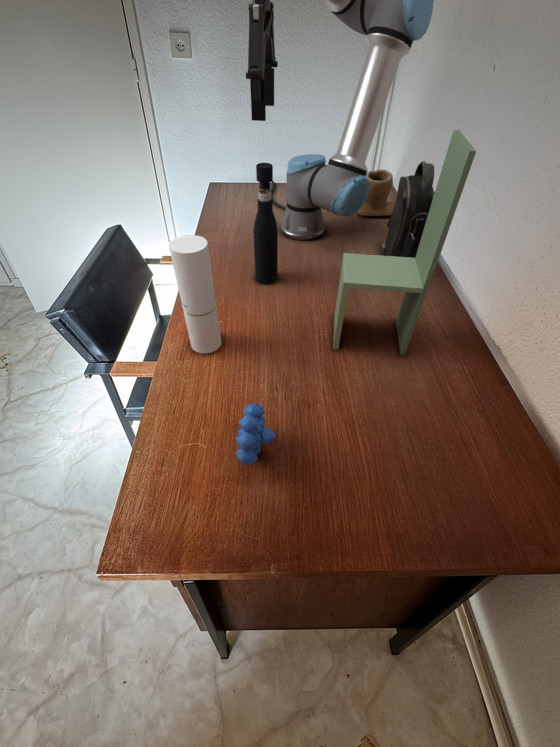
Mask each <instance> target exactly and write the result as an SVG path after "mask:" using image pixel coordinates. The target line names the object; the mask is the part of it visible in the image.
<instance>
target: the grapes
mask: <svg viewBox="0 0 560 747" xmlns="http://www.w3.org/2000/svg"><path fill="white" fill-rule="evenodd" d="M242 411H243V413H244V416H242V417H241V418H240V419H239V420H238V424H239V426H240V428H239V429H238V430H237V433H238V435H237V436H236V437H235V439H234V440H235V442H236V444H237V445H238V446H239V448H238V449H237V450H236V452H235V455H236V457H237V459H238V460H239V462H241V463H242V464H243V465H245V466H247V467H248V466H251V465H252V464H253V463H255V462H256V461H258V459H259V457H258V456H257V455H258V454H259V453H260V452H261V451H262V449H261V448H262V445H263V444H264V445H267V444H270V443H272V442H273V441H274V440H275V439H277V435H276V434H275V432H274V430H273V429H272V428H271V427H268V426H267V427H265V426H266V422H267V420H266V419H265V417H264V416H263V415H265V413H266V411H265V408H264V407H263V406H262V405H261V403H259V402H255V403H253V402H252V403H249V404H248V405H246V407H244V408H243V409H242Z"/></svg>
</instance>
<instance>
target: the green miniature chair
mask: <svg viewBox="0 0 560 747" xmlns="http://www.w3.org/2000/svg"><path fill="white" fill-rule="evenodd" d="M476 154H477V150H476V149H475V147H473V145H472V144H471V143H470V141H469V140H468V139H467V138H466V136H465V135H464V134H463V133H462V132H461V130H460V129H453V131H452V133H451V137H450V141H449V143H448V147H447V150H446V153H445V157H444V161H443V164H442V167H441V170H440V174H439V177H438V180H437V183H436V187H435V190H434V192H435V194H434V197H433V200H432V204H431V207H430V210H429V214H428V217H427V220H426V224H425V227H424V230H423V234H422V237H421V240H420V244H419V247H418V250H417V254H416V257H415V258H410V257H395V256H383V255H379V254H366V253H365V254H364V253H352V252H351V253H350V252H343V254H342V261H341V269H340V275H339V276H340V277H339V282H338V289H337V296H336V301H335V302H336V303H335V310H334V317H333V341H332V342H333V345H332V348H333V350H339V347H340V342H341V336H342V330H343V324H344V317H345V312H346V305H347V299H348V293H349V289H359V290H373V291H384V292H385V291H386V292H399V293H404V294H403V297H402V301H401V304H400V308H399V311H398V314H397V317H396V320H395V326H396V333H397V340H398V347H399V352H400V355H401V356H406V354H407V351H408V348H409V345H410V342H411V339H412V337H413V333H414V331H415V328H416V325H417V322H418V319H419V317H420V313H421V310H422V308H423V305H424V302H425V300H426V296H427V293H428V291H429V288H430V285H431V282H432V279H433V277H434V274H435V271H436V268H437V265H438V263H439V259H440V256H441V254H442V251H443V248H444V245H445V242H446V239H447V237H448V234H449V231H450V229H451V228H450V227H451V225H452V222H453V219H454V216H455V213H456V211H457V208H458V205H459V202H460V199H461V197H462V193H463V191H464V188H465V185H466V182H467V180H468V176H469V173H470V170H471V168H472V165H473V163H474V160H475V157H476Z"/></svg>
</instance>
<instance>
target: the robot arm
mask: <svg viewBox="0 0 560 747" xmlns="http://www.w3.org/2000/svg"><path fill="white" fill-rule="evenodd" d="M434 2H435V0H324V3H325V6H326V8H327V10H329V11H330V12H331V13H332V14H333V16H335V18H337V19H338V20H339V21H340V22H342V23H343V24H344V25H345V26H346V27H348V28H349V29H351V30H353V31H354V32H356V33H358V34H360V35H363V36H365V41H366V45H367V49H368V50H367V53H366V56H365V60H364V62H363V66H362V70H361V72H360V77H359V79H358V82H357V86H356V89H355V92H354V95H353V98H352V101H351V105H350V108H349V112H348V115H347V118H346V121H345V125H344V128H343V132H342V133H341V134H342V135H341V138H340V141H339V144H338V147H337V152H336V153H335V154H333V155H332V156H330V157H329V159H328V162H327V160H326V159H327V158H326V156H325V155H323V154H318V153H310V154H301V155H296V156H293V157H291V158H289V160H288V161H287V169H286V206H284V205H282V204H280V203H278V202H276V201H275V200H274V199H273V198H272V200H273V205H275V206H276V207H278V208H280V209H282V210H283V211H284V213H283V216H282V219H281V221H280V232H281V234H282V235H283V236H285V237H286V238H289V239H291V240H295V241H312V240H315V239H316V240H317V239H319V238H320V237H322V236H323V235H324V234H325V229H326V225H325V220H324V215H323V211H322V210H326V211H327V212H330V213H332V214H334V215H337V216H341V217H345V218H346V217H351V216H353V215H354V214H357V213H356V212H357V211H358V210H359V209H360V208H361V207H362V205H363V204H364V202H365V200H366V198H367V196H368V192H369V186H370V183H369V180H368V178H367V177H366V174H367V173H368V172H369V170H368V167H367V164H366V161H367V158H368V155H369V153H370V149H371V146H372V143H373V141H374V138H375V135H376V131H377V129H378V126H379V123H380V120H381V118H382V114H383V112H384V109H385V106H386V104H387V103H386V102H387V100H388V97H389V94H390V92H391V88H392V85H393V82H394V80H395V76H396V74H397V71H398V68H399V65H400V62H401V60H402V58H404V57H405V56H407V55H408V54H409V53H410V52H411V48H412V46H413V43H414V42H417V41H419V40H421V39H422V38H423V37H424V35H425V34H426V33H427V31H428V29H429V26H430V23H431V20H432V16H433V11H434ZM274 8H275V5H274V2H273V1H271V0H252V3H248V8H247V9H248V10H247V11H248V49H247V50H248V51H247V52H248V54H247V57H248V58H247V59H248V60H247V72H245V79H246V80H250V111H251V121H254V122H255V121H257V122H266V120H267V117H266V115H267V114H266V113H267V112H266V108H267V107H275V68H278V64H279V62H278V60H277V58H276V46H275V45H276V44H275V27H274V19H275V11H274ZM326 163H327V164H326ZM271 184H272V187H271V188H270V191H271V193H272V194H273V192H274V190H275V187H276V182H275V181H274V180H273V181H272V182H271Z"/></svg>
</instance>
